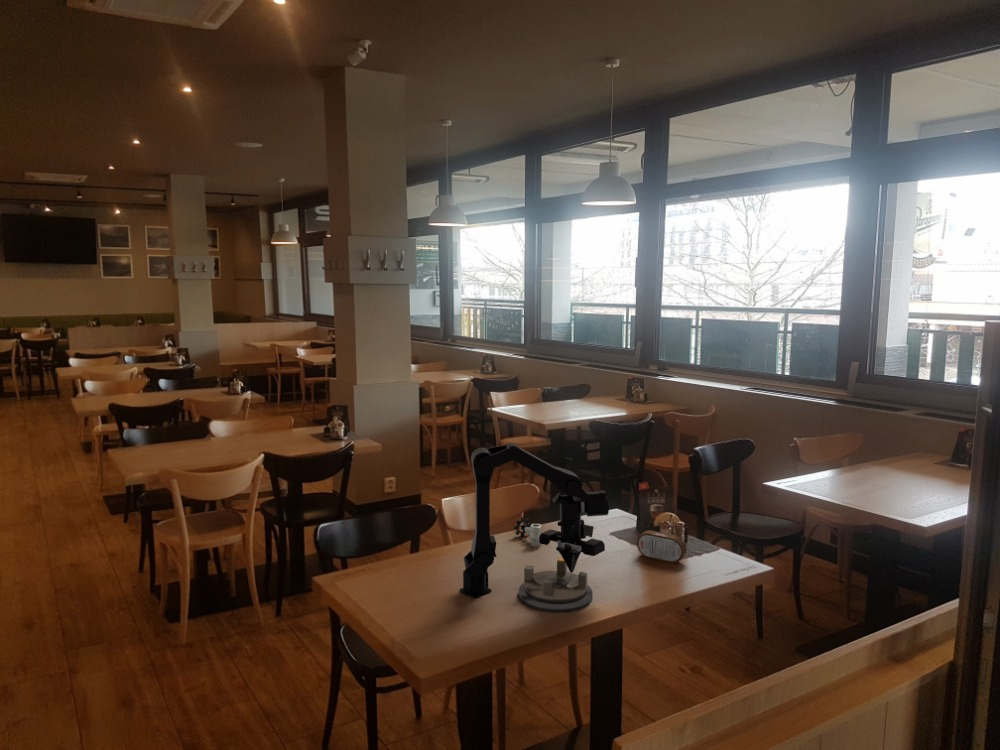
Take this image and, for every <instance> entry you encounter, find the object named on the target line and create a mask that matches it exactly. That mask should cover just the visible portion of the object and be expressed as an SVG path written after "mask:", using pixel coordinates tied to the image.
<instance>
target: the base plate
mask: <svg viewBox="0 0 1000 750" xmlns="http://www.w3.org/2000/svg"><path fill="white" fill-rule="evenodd" d="M593 598H594V597H593V589H592V587H591V586H590V585H589V584H587V594H586V595H585V597H584V598H582V599H580V600H578V601H575V602H571V603H565V604H551V603H544V602H540V601H537V600H534V599H532V598H530V597H529V596H527V595H526V593H525V591H524V582H522V583H521V584H520V586H519V588H518V599H519V600H520V601H521V602H522V604H524V605H526V606H527V607H529V608H532V609H534V610H538V611H540V612H541V611H542V612H546V613H568V612H574V611H578V610H581V609H584V608H585V607H588V606H589V605H590V604H591V602H592V601H593Z"/></svg>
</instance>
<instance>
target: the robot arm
mask: <svg viewBox="0 0 1000 750" xmlns="http://www.w3.org/2000/svg"><path fill="white" fill-rule="evenodd" d="M470 460H471V461H470V462H471V465H472V471H473V476H474V480H475V529H474V535H473V538H472V543H471V547H470V548H471V550H470V551H469V552H467V554H466V555H465V556H464V557H463V562H464V568H465V569H464V570H463V571H462V585H463V587H461V588H459V592H461V593H463V594H464V595H467V596H469V597H471V598H474V599H476V598H478V597H481V596H483V595H486V594H488V593H491V592H492V588H489V573H488V568H490V567H491V565H493V564H494V560H495V558H497V554H496V547H497V539H496V537H495V535H494V534H493V535H491V534H490V532H491V531H490V527H491V526H490V525H491V522H490V520H491V519H490V517H491V516H490V515H491V514H490V507H491V506H490V505H491V503H490V498H491V497H490V496H491V495H490V493H491V492H490V491H491V490H490V488H491V487H490V486H491V485H490V484H491V481H492V478H493V473H494V469H495V468H497V467H500V466H504V465H505V464H507V463H509V462H513V461H514V462H516V463H517V464H519V465H521V466H523V467H525V468H527V469H528V470H530V471H531V472H534V473H536V474H537V475H539V476H541V477H543V478H544V479H546V480H548V481H549V482H551V483H552V484H553V486H555V487H556V488H557V489H558V490H560V491H561V492H562V493H563V494H564V495H561V493H560V492H557V494H556V495H555V496H554V497H553V498H552V501H553V502H554V504H556V505H558V504H559V515H560V516H559V518H560V519H559V520H560V521H557V526H558V527H560V531H559V530H556V529H555V530H554V529H552V528H550V529H547V530H545V531H543V532H542V533H541V534H540V536H539V543H540V544H542V545H545V546H548V545H550V544H551V542H555V543H557V546H556V547H555V550H556V551H557V552H558V553H559V554H560V556H561V558H563V559H564V561H565V563H566V565H567V570H568V572H570V573H574V571H575V569H576V567H577V566H576V565H577V564H578V563H577V562H578V559H579V558H580V555H581V554H582V553H583V555H585V556H589V557H595V556H597V555H599V554H601V553H603V552H605V551H606V549H605V548H606V547H605V546H606V544H605V542H604V541H603V540H600V539H596V538H593V534H594V529H595V528H594V527H595V526H593V525H589V524H585V520H584V519H582V513H583V514H585V515H586V517H587V518H588V517H599V516H601V517H602V516H603V517H604V516H608V515H609V512H610V511H609V510H610V506H609V505H610V504H609V503H608V497H607V493H606V491H605V490H597V491H587V490H585V488H584V487H583V483H582V480H581V479H580V478H579V477H578V475H577V474H575V473H576V472H573V471H571V470H569V469H566V468H562V467H560V466H556V465H552V464H551V463H548V462H547V461H545V460H543V459H541V458H540V457H538V456H536V455H534V454H533V453H530V452H529V451H527V450H525V449H523V448H522V447H521V446H519V445H518V444H517V443H513V442H510V443H507V444H503V445H499V446H498V445H497V446H496V445H495V446H491V447H488V448H485V447H478V448H476V449H475V450H474V451H473V452H472V453H471V456H470ZM587 537H589V538H590V539H588V540H585V539H587Z"/></svg>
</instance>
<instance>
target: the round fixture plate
mask: <svg viewBox="0 0 1000 750" xmlns="http://www.w3.org/2000/svg"><path fill="white" fill-rule="evenodd" d="M523 569H524V570H523V573H524V574H523V575H524V577H523V583H524V591H525V593H526V595H527V596H529V597H530V598H532V599H534V600H537V601H540V602H544V603H551V604H565V603H571V602H575V601H578V600H580V599H582V598H584V597H585V595H586V594H587V585H588V572H583V571H579V573H578V574H576V573H574V572H572V573H571V572H570V571H568V567H567V565H566V563H565V561H564V559H563V557H558V558H557V561H556V570H544V571H538V572H535V573H534V571H535V568H534V565H528V564H526V565H525V567H524V568H523Z"/></svg>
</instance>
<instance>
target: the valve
mask: <svg viewBox="0 0 1000 750" xmlns="http://www.w3.org/2000/svg"><path fill="white" fill-rule="evenodd" d="M515 523H516V525H513V527H512V528H513V530H515V535H516V536H519V535H520V536H521V537H525V534H526V535H527V536H528V537H529V539H530V540H529V541H530V542H529V543H530V546H532V547H536V546H538V547H540V546H542V545H543V544H540V543H539V536H540V534H541V533H543V532H542V531H543V526H542V524H540V523H530V519H529V518H528V517H527V518H525V517H523V516H521V517H520V520H518V519H517V520H515ZM523 523H524V524H523ZM519 528H520V529H519Z"/></svg>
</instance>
